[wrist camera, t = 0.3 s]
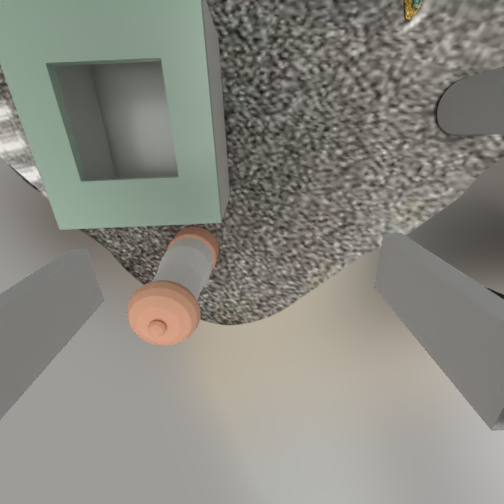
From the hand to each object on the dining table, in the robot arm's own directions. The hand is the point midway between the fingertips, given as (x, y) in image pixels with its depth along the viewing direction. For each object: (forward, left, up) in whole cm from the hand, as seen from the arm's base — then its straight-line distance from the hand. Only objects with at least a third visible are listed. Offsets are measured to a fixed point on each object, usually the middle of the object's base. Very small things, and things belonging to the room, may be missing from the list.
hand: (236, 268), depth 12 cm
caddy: (-7, -10, -27) cm, 30 cm away
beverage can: (-8, +28, -27) cm, 40 cm away
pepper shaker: (+10, -8, -27) cm, 30 cm away
